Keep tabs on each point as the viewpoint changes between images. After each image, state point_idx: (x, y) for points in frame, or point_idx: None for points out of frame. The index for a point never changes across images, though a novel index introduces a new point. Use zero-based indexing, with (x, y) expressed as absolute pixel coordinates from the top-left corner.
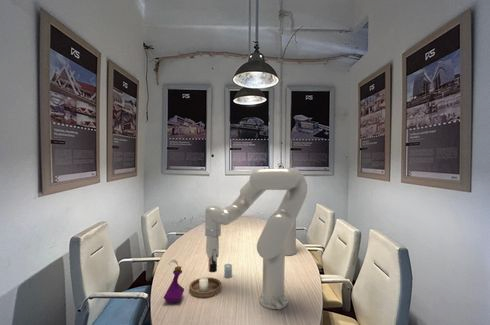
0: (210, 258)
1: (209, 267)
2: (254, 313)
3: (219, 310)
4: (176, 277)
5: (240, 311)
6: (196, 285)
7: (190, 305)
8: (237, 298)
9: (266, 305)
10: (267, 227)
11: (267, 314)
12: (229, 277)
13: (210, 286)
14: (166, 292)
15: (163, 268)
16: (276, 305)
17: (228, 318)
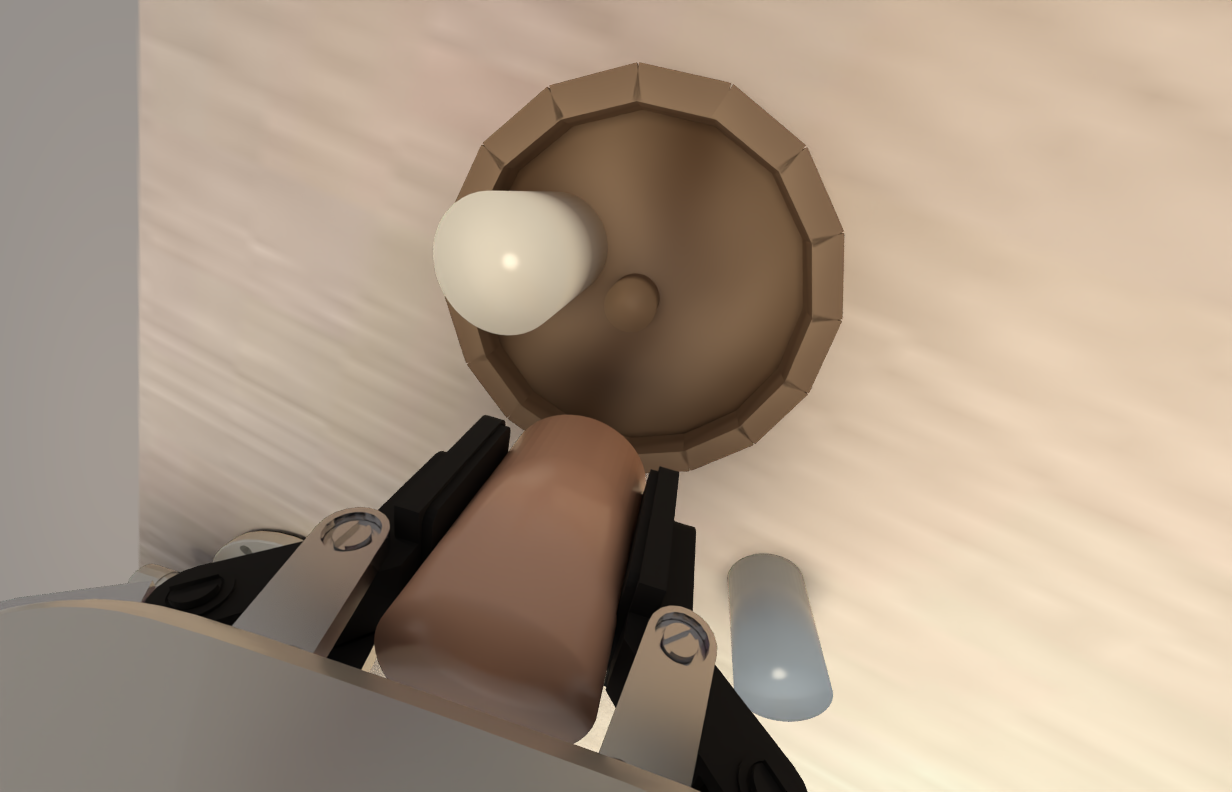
0: (493, 642)
1: (520, 458)
2: (204, 453)
3: (262, 266)
4: None
5: (232, 394)
6: (755, 221)
7: (393, 8)
8: (390, 460)
9: (231, 544)
10: None
11: (190, 502)
12: (728, 579)
13: (640, 359)
14: None
15: None
16: (148, 576)
17: (161, 282)
